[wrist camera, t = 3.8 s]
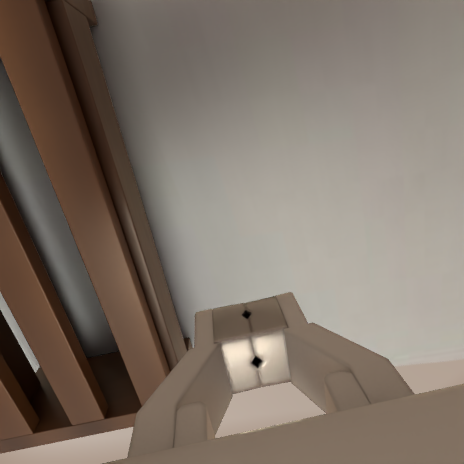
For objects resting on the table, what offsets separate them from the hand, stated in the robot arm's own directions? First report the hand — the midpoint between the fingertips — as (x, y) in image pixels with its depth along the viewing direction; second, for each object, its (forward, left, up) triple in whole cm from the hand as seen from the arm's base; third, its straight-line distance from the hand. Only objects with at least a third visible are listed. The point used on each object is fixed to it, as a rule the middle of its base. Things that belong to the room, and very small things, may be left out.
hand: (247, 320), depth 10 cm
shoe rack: (+12, 0, -14) cm, 18 cm away
